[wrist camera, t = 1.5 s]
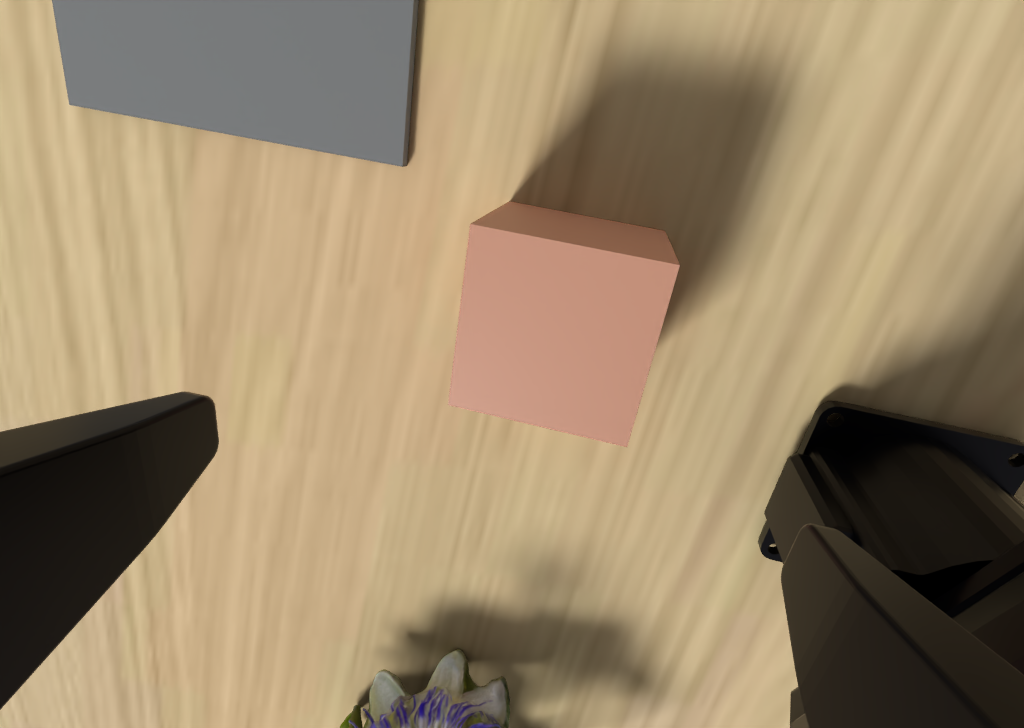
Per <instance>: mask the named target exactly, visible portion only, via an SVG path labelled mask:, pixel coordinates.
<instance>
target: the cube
mask: <svg viewBox="0 0 1024 728" xmlns="http://www.w3.org/2000/svg"><path fill="white" fill-rule="evenodd" d="M679 267H680V264H679V262H678V259H677V257H676V255H675V253H674V250H673V248H672V246H671V243H670V241H669V239H668V237H667V234H666V232H665V231H663V230H658V229H653V228H647V227H642V226H637V225H632V224H626V223H621V222H616V221H611V220H605V219H600V218H595V217H589V216H584V215H579V214H574V213H568V212H563V211H558V210H553V209H547V208H542V207H537V206H532V205H526V204H521V203H516V202H511V201H509V202H508V203H506V204H504V205H502V206H501V207H499V208H497V209H495V210H494V211H492V212H490V213H488V214H487V215H485V216H483V217H482V218H480V219H478V220H476V221H475V222H473V223H471V224H470V231H469V239H468V247H467V255H466V263H465V271H464V280H463V288H462V296H461V304H460V312H459V320H458V328H457V337H456V345H455V353H454V361H453V369H452V377H451V386H450V394H449V402H448V405H450V406H455V407H459V408H463V409H467V410H472V411H476V412H480V413H484V414H489V415H493V416H497V417H501V418H506V419H510V420H514V421H518V422H523V423H527V424H531V425H535V426H539V427H544V428H548V429H552V430H556V431H561V432H565V433H569V434H573V435H578V436H582V437H586V438H590V439H595V440H599V441H603V442H607V443H612V444H616V445H620V446H624V447H627V446H628V442H629V439H630V435H631V432H632V428H633V425H634V421H635V418H636V415H637V411H638V408H639V404H640V401H641V397H642V394H643V391H644V387H645V384H646V380H647V377H648V373H649V370H650V367H651V363H652V360H653V356H654V353H655V349H656V346H657V343H658V339H659V336H660V332H661V329H662V325H663V322H664V318H665V315H666V312H667V308H668V305H669V301H670V298H671V294H672V291H673V288H674V284H675V281H676V277H677V274H678V270H679Z"/></svg>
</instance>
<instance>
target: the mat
mask: <svg viewBox="0 0 1024 728" xmlns="http://www.w3.org/2000/svg"><path fill="white" fill-rule="evenodd" d="M52 3H53V9H54V15H55V21H56V27H57V33H58V39H59V45H60V51H61V57H62V63H63V69H64V75H65V81H66V87H67V93H68V99H69V105H73V106H79V107H84V108H90V109H95V110H100V111H106V112H111V113H116V114H122V115H127V116H133V117H138V118H143V119H149V120H154V121H160V122H165V123H170V124H176V125H181V126H186V127H192V128H197V129H203V130H208V131H213V132H219V133H224V134H229V135H235V136H240V137H246V138H251V139H256V140H262V141H267V142H273V143H278V144H283V145H289V146H294V147H299V148H305V149H310V150H316V151H321V152H326V153H332V154H337V155H342V156H348V157H353V158H359V159H364V160H369V161H375V162H380V163H385V164H391V165H396V166H402V167H403V166H407V158H408V144H409V130H410V116H411V102H412V87H413V73H414V59H415V45H416V31H417V17H418V3H419V0H52Z"/></svg>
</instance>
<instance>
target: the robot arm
mask: <svg viewBox="0 0 1024 728" xmlns="http://www.w3.org/2000/svg"><path fill="white" fill-rule="evenodd" d="M834 413H839V414H840V415H839V417H838V418H837V419H836V420H834V421H827V418H828V417H829V416H830V415H831V414H834ZM218 444H219V438H218V429H217V420H216V410H215V404H214V402H213V400H212V399H211V398H210V397H208V396H205V395H200V394H195V393H191V392H179V393H174V394H170V395H165V396H161V397H156V398H152V399H147V400H143V401H138V402H134V403H129V404H125V405H120V406H115V407H111V408H106V409H102V410H97V411H93V412H88V413H84V414H79V415H75V416H70V417H66V418H61V419H56V420H52V421H47V422H43V423H38V424H34V425H29V426H25V427H20V428H16V429H11V430H7V431H2V432H0V709H1V708H2V707H3V706H4V705H5V704H6V703H7V702H8V701H9V699H10V698H11V697H12V696H13V695H14V694H15V693H16V692H17V690H18V689H19V688H20V687H21V686H22V685H23V684H24V683H25V682H26V680H27V679H28V678H29V677H30V676H31V675H32V674H33V673H34V671H35V670H36V669H37V668H38V667H39V666H40V665H41V664H42V663H43V661H44V660H45V659H46V658H47V657H48V656H49V655H50V654H51V652H52V651H53V650H54V649H55V648H56V647H57V646H58V645H59V643H60V642H61V641H62V640H63V639H64V638H65V637H66V636H67V635H68V633H69V632H70V631H71V630H72V629H73V628H74V627H75V626H76V624H77V623H78V622H79V621H80V620H81V619H82V618H83V617H84V616H85V614H86V613H87V612H88V611H89V610H90V609H91V608H92V607H93V605H94V604H95V603H96V602H97V601H98V600H99V599H100V598H101V597H102V595H103V594H104V593H105V592H106V591H107V590H108V589H109V588H110V586H111V585H112V584H113V583H114V582H115V581H116V580H117V579H118V578H119V576H120V575H121V574H122V573H123V572H124V571H125V570H126V569H127V567H128V566H129V565H130V564H131V563H132V562H133V561H134V560H135V559H136V557H137V556H138V555H139V554H140V553H141V552H142V551H143V550H144V548H145V547H146V546H147V545H148V544H149V543H150V541H151V540H152V539H153V538H154V537H155V536H156V534H157V533H158V532H159V530H160V529H161V528H162V527H163V525H164V524H165V523H166V521H167V520H168V519H169V517H170V516H171V515H172V513H173V512H174V511H175V509H176V508H177V506H178V505H179V504H180V502H181V501H182V500H183V498H184V497H185V496H186V494H187V493H188V492H189V490H190V489H191V487H192V486H193V485H194V483H195V482H196V481H197V479H198V478H199V477H200V475H201V474H202V473H203V471H204V470H205V468H206V467H207V466H208V464H209V463H210V462H211V460H212V459H213V457H214V456H215V454H216V452H217V449H218ZM1016 453H1019V454H1018V456H1017V457H1016V458H1014V459H1012V460H1008V459H1009V458H1010V457H1011V456H1012V455H1014V454H1016ZM1023 481H1024V443H1023V442H1021V441H1019V440H1015V439H1010V438H1005V437H1001V436H996V435H991V434H987V433H982V432H978V431H973V430H968V429H964V428H959V427H954V426H950V425H945V424H940V423H936V422H931V421H927V420H922V419H917V418H913V417H908V416H903V415H899V414H894V413H889V412H885V411H880V410H876V409H871V408H866V407H862V406H857V405H852V404H848V403H843V402H838V401H829V402H825V403H823V404H822V405H820V406H819V407H818V408H817V410H816V411H815V413H814V416H813V418H812V420H811V422H810V425H809V427H808V429H807V431H806V434H805V436H804V438H803V440H802V442H801V445H800V447H799V449H798V451H797V453H795V454H793V455H792V456H790V457H789V458H788V459H787V462H786V464H785V466H784V468H783V471H782V473H781V475H780V478H779V480H778V482H777V484H776V487H775V489H774V491H773V493H772V496H771V498H770V500H769V503H768V505H767V507H766V509H765V516H766V519H767V521H766V523H765V525H764V528H763V530H762V532H761V534H760V537H759V540H758V544H759V547H760V550H761V552H762V554H763V555H764V556H765V557H766V558H769V559H771V560H775V561H779V562H783V564H784V565H783V568H782V574H781V583H782V590H783V596H784V602H785V609H786V615H787V621H788V627H789V634H790V640H791V646H792V652H793V658H794V665H795V671H796V676H797V681H798V687H797V688H796V689H794V690H793V691H792V692H791V708H790V728H1024V505H1023V504H1022V503H1020V502H1019V501H1018V500H1017V499H1016V498H1015V497H1014V494H1015V493H1016V491H1017V490H1018V488H1019V487H1020V485H1021V484H1022V482H1023ZM774 543H776V546H775V547H769V545H771V544H774Z"/></svg>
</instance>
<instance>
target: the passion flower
mask: <svg viewBox="0 0 1024 728" xmlns="http://www.w3.org/2000/svg"><path fill="white" fill-rule="evenodd" d="M509 702H510V699H509V692H508V687H507V683H506V680H505V678H504V677H503V676H501V677H500V678H498V679H495V680H491V681H490V682H489V683H488V684H487V685H485V686H482V687H479V686H477V685H476V684H475V683H474V682H473V681H472V679H471V677H470V675H469V667H468V661H467V659H466V657H465V655H464V653H463V651H461V650H455V651H453V652H451V653H449V654H447V655H446V656H444V657H443V658H442V659H441V661H440V662H439V664H438V665H437V667H436V669H435V671H434V673H433V675H432V677H431V679H430V681H429V683H428V686H427V688H426V689H425V690H423V691H422V692H420V693H418V694H414V695H410V694H409V693H408V692H406V690H405V689H404V687H403V685H402V682H401V681H400V679H399V678H398V677H397V676H396V675H393V674H392V673H390V672H389V671H387V670H381V671H379V672H378V673H377V674H376V676H375V679H374V681H373V685H372V686H371V688H370V695H369V712H368V711H367V710H366V709H364V708H363V711H365V713H366V715H367V720H366V723H365V725H364V728H508V726H509V716H510V708H509ZM340 728H363V727H362V720H361V706H360V705H355V706H354V709H353V711H352V713H351V714H349V715H348V716H347V717H346V719H345V720H344V722H343V723H342V724H341V726H340Z"/></svg>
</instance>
